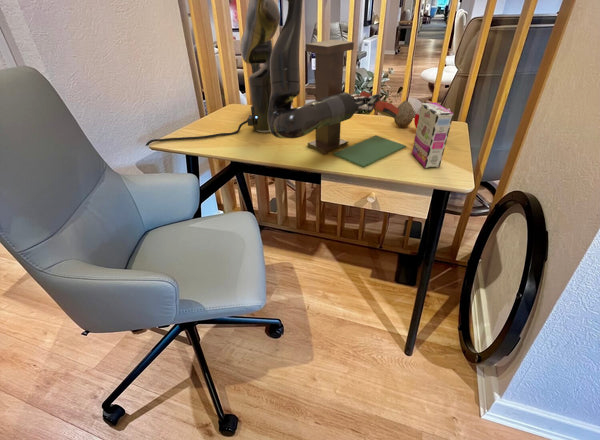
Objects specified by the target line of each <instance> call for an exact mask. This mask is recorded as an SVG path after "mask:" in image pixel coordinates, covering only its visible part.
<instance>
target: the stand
mask: <svg viewBox="0 0 600 440" xmlns="http://www.w3.org/2000/svg"><path fill="white" fill-rule="evenodd" d="M354 45H355V44H354V41H349V40H340V39H327V40H322V41H316V42H308V43H305V52H306V53H312V54H314V60H315V61H314V65H315V66H314V69H315V70H314V71H315V73H314V76H315V80H314V81H315V82H314V83H315V85H314V87H315V91H314V93H315V94H314V95H315V96H314V97H315V98H314V99H315V100H314V101H316V100H320V99H322V98H324V97H327V96H330V95H334V94H338V93H341V92H343V75H344V55H345V52H348V51H353V50H354V48H355V47H354ZM341 124H342V122H339V123H336V124H334V125H329V126H325V127H322V128H319V129H315V139H314V140H312V141H309V142H307V148H309V149H312V150H314V151H316V152H318V153H321V154H323V155H324V156H325V155H328V154H330V153H333V152H336V151H339V150H341V149H343V148H346V147H348V145H349V140H345V139H343V138H341Z"/></svg>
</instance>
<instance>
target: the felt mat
mask: <svg viewBox="0 0 600 440" xmlns="http://www.w3.org/2000/svg"><path fill="white" fill-rule="evenodd" d="M406 147H407V145H406V144H402V143H400V142H397V141H394V140H391V139H388V138H385V137H382V136H379V135H374V136H371V137H369V138H366V139H364V140H361V141H360V142H357V143H354V144H352V145H350V146H346V147H344V148H341V149H339V150H337V151H334V153H333V156H335V157H338V158H340V159H342V160H345V161H347V162H350V163H352V164H355V165H357V166H359V167H361V168H366V167H368V166H369V165H372V164H374V163H377V162H378V161H380V160H382V159H384V158H386V157H388V156H390V155H392V154H394V153H397V152H398V151H401V150H403V149H405V148H406Z"/></svg>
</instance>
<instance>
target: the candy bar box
mask: <svg viewBox="0 0 600 440" xmlns="http://www.w3.org/2000/svg"><path fill="white" fill-rule="evenodd" d="M420 106H421V110H420V115H419V119H418V125H417V129H416V131H415V135H414V140H413V146H412V150H411V155H412V156H413V157H414V158H415V159H416V161H418V163H420V164H421V166H422V167H423V168H424V169H439V168H440V167H441V163H442V160H443V156H444V152H445V149H446V145H447V141H448V138H449V133H450V130H451V126H452V122H453V118H454V114H455V113H454V112H452V111H451V110H450V111H451V112H450V111H449V110H447V109H448V108H446V107H444V105H443V106H442V105H440V104H439V103H438V102H423V103H421V104H420Z"/></svg>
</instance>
